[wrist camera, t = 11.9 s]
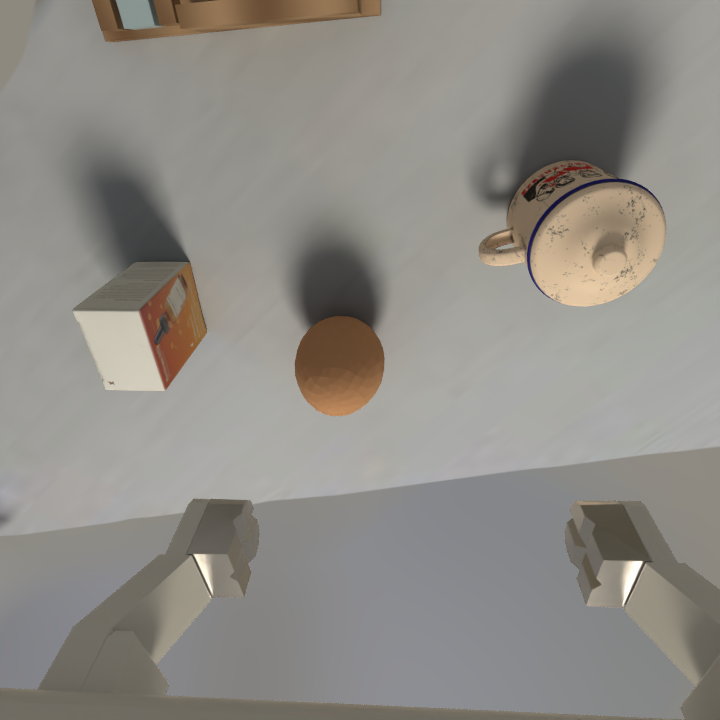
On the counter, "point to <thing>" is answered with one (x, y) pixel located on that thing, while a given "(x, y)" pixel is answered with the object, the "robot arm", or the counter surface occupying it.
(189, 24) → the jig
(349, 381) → the egg
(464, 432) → the counter surface
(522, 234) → the teacup with lid
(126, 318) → the small box
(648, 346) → the counter surface
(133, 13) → the plank
